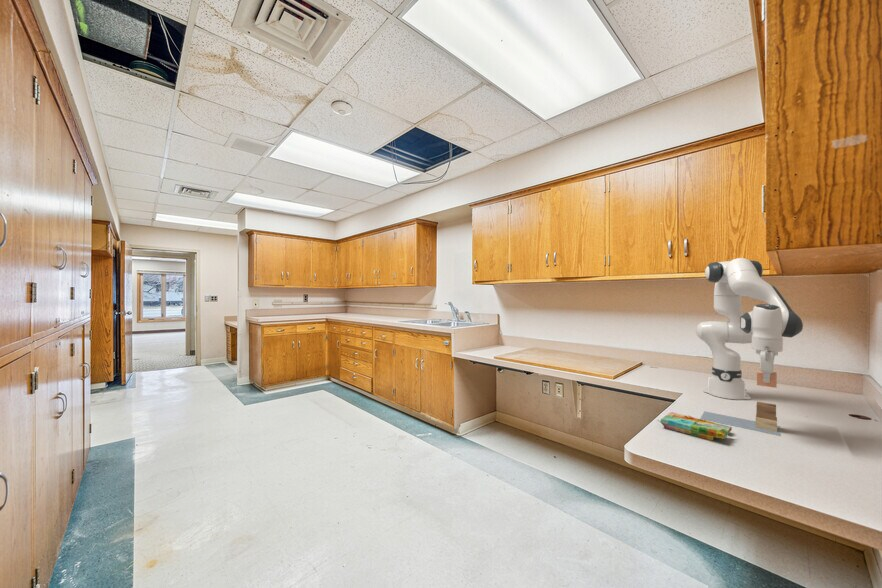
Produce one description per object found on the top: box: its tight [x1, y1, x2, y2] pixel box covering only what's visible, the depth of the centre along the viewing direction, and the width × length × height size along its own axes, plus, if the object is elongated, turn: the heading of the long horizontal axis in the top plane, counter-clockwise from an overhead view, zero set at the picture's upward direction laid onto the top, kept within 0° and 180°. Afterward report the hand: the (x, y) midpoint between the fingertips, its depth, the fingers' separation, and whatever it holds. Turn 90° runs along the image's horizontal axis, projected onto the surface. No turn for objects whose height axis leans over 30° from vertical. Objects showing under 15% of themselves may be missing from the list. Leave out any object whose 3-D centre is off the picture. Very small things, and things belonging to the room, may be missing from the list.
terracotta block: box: [756, 369, 778, 389], centre depth 133 cm, size 6×6×5 cm
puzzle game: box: [660, 411, 733, 441], centre depth 132 cm, size 12×5×20 cm
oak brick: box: [755, 416, 778, 432], centre depth 133 cm, size 6×6×4 cm
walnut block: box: [755, 400, 777, 421], centre depth 133 cm, size 6×6×5 cm
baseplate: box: [699, 411, 782, 437], centre depth 138 cm, size 13×24×1 cm, turn 46°
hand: (766, 380), depth 133 cm, fingers closed on terracotta block, 5 cm apart
